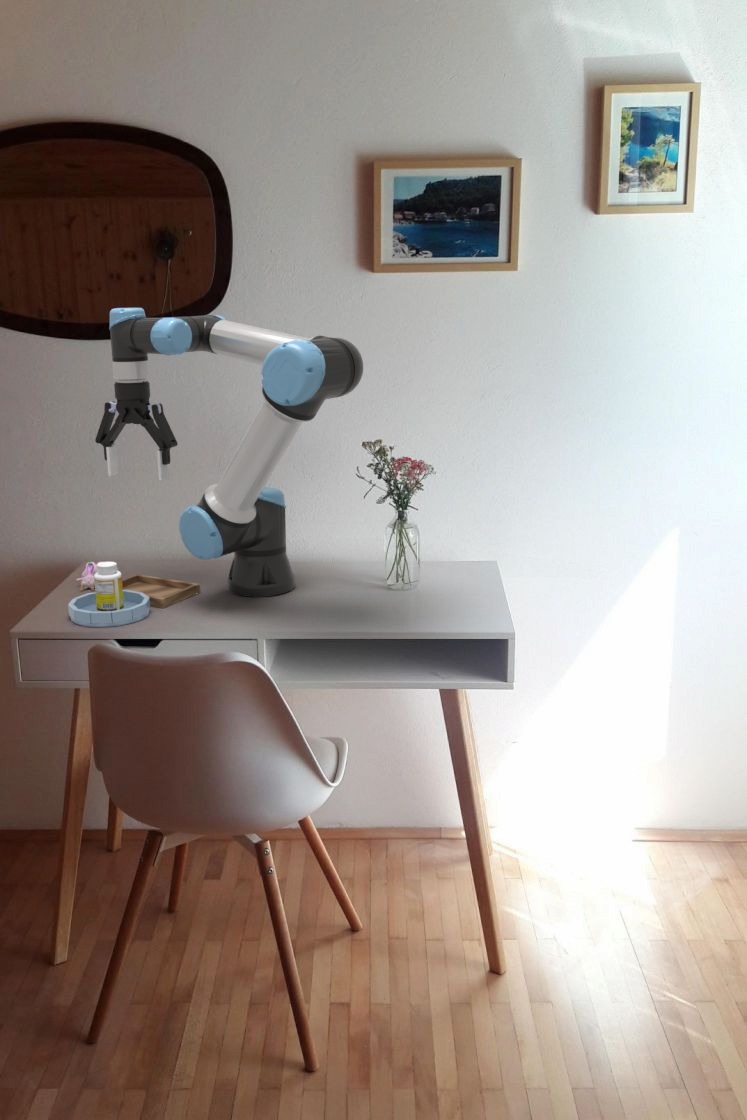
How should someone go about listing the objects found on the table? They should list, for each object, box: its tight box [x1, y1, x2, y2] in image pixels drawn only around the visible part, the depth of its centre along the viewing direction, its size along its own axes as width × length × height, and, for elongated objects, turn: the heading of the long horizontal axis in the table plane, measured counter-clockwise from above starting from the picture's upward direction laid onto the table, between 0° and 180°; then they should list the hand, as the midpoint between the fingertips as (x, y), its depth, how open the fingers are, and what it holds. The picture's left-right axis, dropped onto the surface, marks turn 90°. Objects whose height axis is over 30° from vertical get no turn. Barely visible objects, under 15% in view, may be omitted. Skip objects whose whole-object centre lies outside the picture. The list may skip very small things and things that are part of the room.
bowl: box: [67, 590, 151, 628], centre depth 222 cm, size 16×16×3 cm
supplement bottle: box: [94, 561, 124, 611], centre depth 221 cm, size 6×6×10 cm
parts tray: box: [122, 573, 201, 609], centre depth 236 cm, size 18×13×2 cm
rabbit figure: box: [76, 561, 102, 592], centre depth 245 cm, size 6×6×15 cm
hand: (138, 477), depth 237 cm, fingers open, 13 cm apart
